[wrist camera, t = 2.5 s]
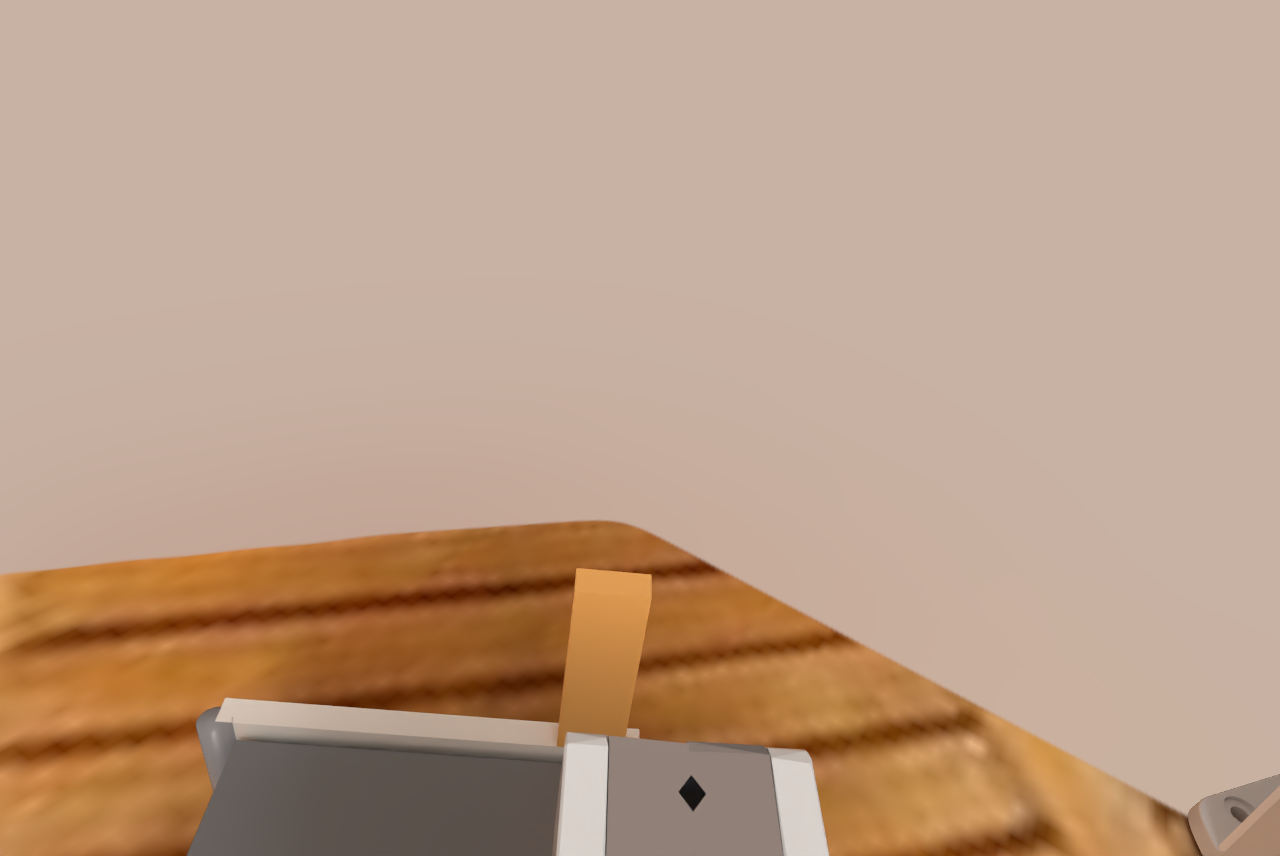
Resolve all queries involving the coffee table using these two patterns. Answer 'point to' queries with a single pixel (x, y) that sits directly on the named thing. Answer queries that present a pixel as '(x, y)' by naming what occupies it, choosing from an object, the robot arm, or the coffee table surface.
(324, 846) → the gray box camera
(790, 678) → the coffee table surface
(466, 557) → the coffee table surface
